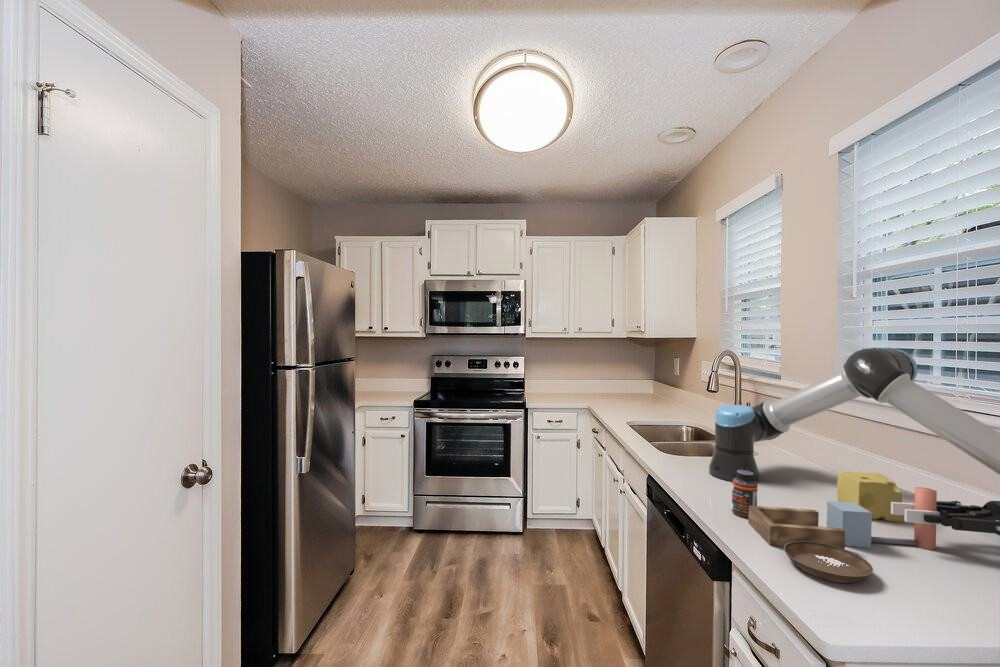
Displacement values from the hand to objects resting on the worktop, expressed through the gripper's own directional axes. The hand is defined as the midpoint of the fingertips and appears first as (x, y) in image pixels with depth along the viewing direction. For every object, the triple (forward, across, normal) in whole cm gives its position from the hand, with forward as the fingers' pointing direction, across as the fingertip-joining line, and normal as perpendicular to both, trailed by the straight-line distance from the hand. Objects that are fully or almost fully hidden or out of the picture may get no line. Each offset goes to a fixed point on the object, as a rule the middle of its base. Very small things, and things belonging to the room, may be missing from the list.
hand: (898, 511), depth 103 cm
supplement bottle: (+29, +12, -8) cm, 32 cm away
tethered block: (+3, 0, -7) cm, 8 cm away
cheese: (-5, +19, -8) cm, 21 cm away
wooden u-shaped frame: (+22, 0, -8) cm, 23 cm away
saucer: (+23, -15, -8) cm, 28 cm away
